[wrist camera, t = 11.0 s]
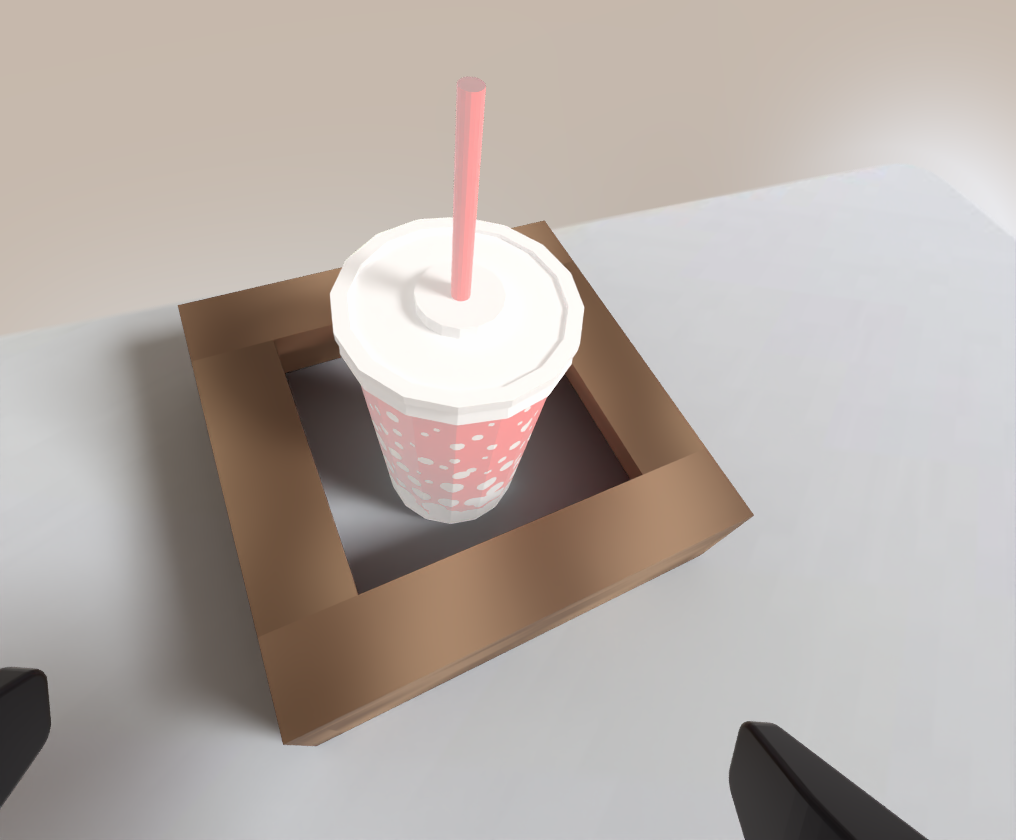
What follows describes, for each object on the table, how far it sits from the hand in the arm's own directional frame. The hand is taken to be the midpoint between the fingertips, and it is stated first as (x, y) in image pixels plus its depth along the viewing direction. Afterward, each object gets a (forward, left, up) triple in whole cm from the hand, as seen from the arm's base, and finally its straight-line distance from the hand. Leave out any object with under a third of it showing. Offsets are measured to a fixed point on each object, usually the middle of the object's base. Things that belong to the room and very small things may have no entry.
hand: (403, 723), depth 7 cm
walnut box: (+4, +8, -11) cm, 14 cm away
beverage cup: (+4, +8, -11) cm, 14 cm away
